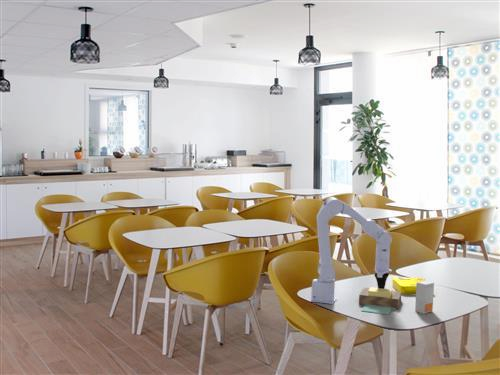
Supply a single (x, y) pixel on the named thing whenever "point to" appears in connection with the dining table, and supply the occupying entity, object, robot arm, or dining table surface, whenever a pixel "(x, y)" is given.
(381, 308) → the mat
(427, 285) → the skincare box
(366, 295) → the plate
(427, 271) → the dining table surface
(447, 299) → the dining table surface
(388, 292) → the yellow block
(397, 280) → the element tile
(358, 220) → the robot arm
